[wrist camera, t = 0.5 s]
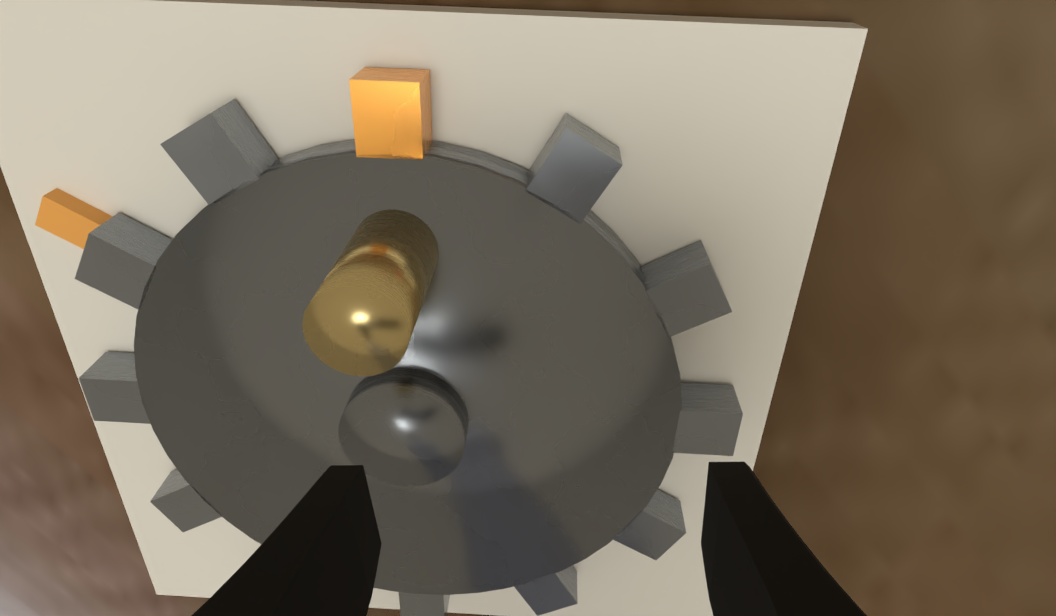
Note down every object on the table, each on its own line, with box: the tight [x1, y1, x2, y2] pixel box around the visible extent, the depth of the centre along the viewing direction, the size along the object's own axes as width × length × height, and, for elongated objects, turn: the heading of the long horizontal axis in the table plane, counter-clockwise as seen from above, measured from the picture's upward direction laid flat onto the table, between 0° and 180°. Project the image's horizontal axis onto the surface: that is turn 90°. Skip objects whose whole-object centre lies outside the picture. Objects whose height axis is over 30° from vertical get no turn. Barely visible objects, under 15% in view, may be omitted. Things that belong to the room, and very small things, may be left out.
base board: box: [0, 0, 868, 616], centre depth 22 cm, size 22×22×2 cm
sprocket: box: [75, 67, 743, 616], centre depth 20 cm, size 19×19×5 cm
